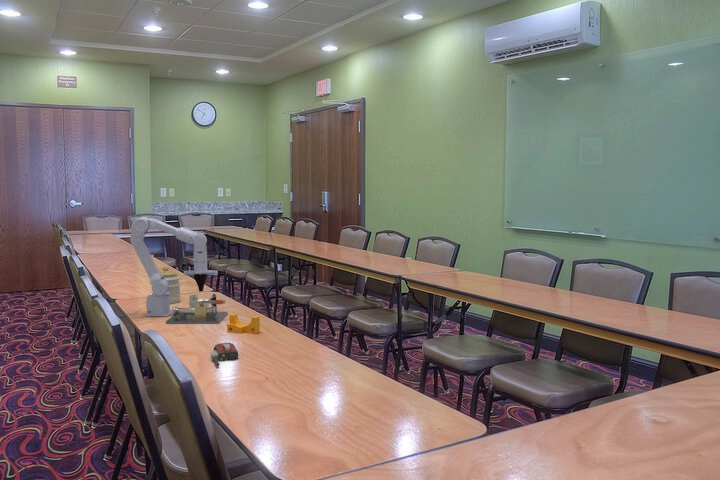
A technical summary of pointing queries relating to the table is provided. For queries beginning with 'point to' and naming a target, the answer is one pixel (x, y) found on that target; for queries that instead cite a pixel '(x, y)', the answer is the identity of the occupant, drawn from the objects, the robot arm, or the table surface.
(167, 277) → the jar
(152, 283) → the robot arm
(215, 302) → the valve lever
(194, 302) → the valve
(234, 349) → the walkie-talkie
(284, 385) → the table surface
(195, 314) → the pipe stand
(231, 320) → the pipe clamp
